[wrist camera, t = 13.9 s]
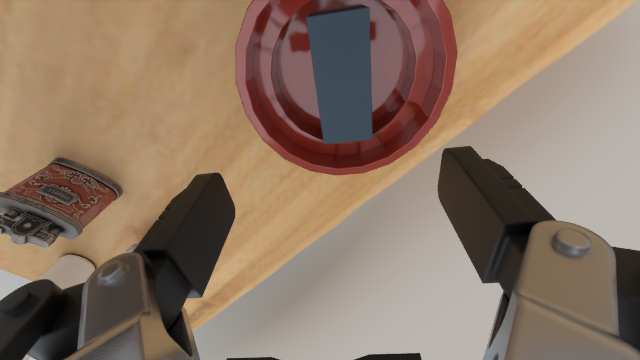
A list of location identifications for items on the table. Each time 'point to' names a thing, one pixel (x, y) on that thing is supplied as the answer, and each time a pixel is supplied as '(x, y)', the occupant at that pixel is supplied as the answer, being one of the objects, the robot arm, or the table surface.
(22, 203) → the lighter
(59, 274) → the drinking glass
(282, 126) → the bowl
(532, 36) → the table surface
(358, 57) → the blue rectangular block
